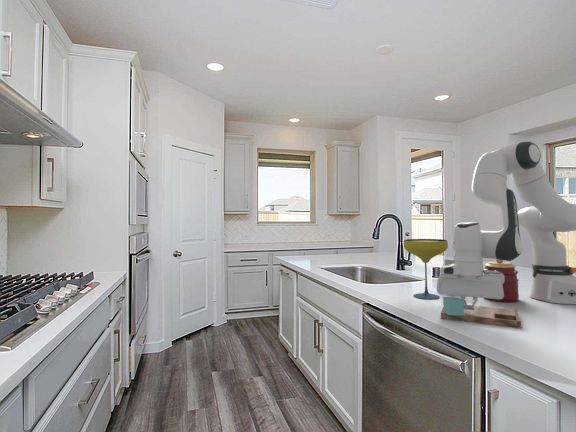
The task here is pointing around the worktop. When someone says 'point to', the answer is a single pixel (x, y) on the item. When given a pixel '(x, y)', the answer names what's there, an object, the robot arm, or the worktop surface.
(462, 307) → the teal block
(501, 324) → the board
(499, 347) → the worktop surface
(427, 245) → the cocktail glass
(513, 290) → the canister
